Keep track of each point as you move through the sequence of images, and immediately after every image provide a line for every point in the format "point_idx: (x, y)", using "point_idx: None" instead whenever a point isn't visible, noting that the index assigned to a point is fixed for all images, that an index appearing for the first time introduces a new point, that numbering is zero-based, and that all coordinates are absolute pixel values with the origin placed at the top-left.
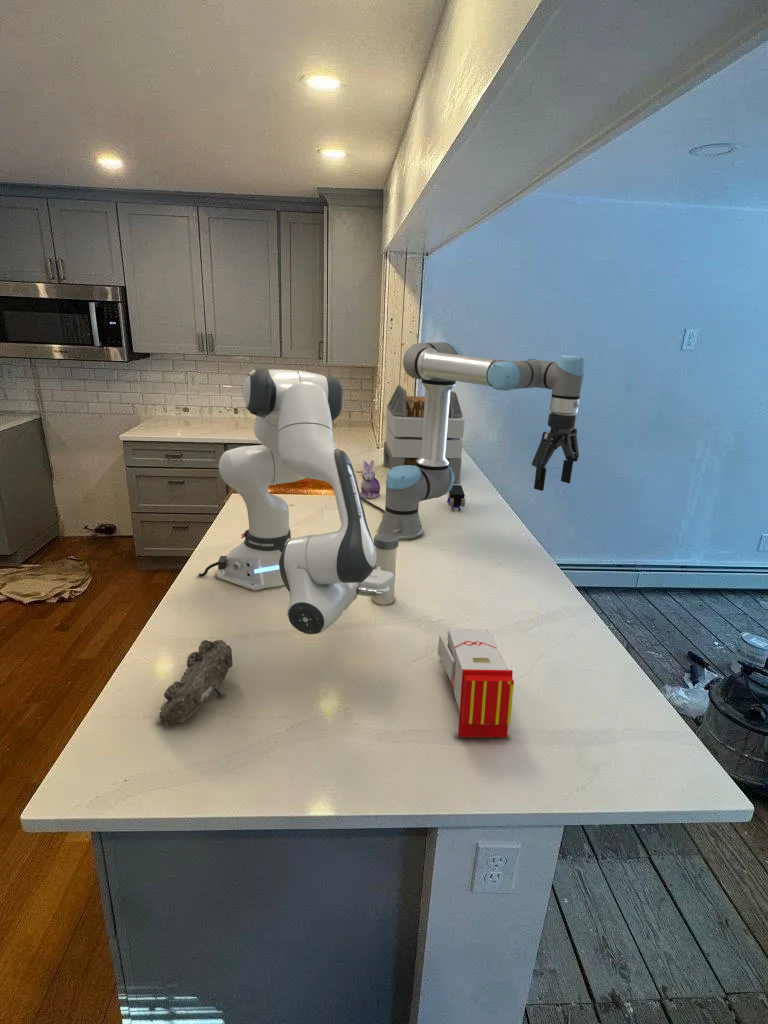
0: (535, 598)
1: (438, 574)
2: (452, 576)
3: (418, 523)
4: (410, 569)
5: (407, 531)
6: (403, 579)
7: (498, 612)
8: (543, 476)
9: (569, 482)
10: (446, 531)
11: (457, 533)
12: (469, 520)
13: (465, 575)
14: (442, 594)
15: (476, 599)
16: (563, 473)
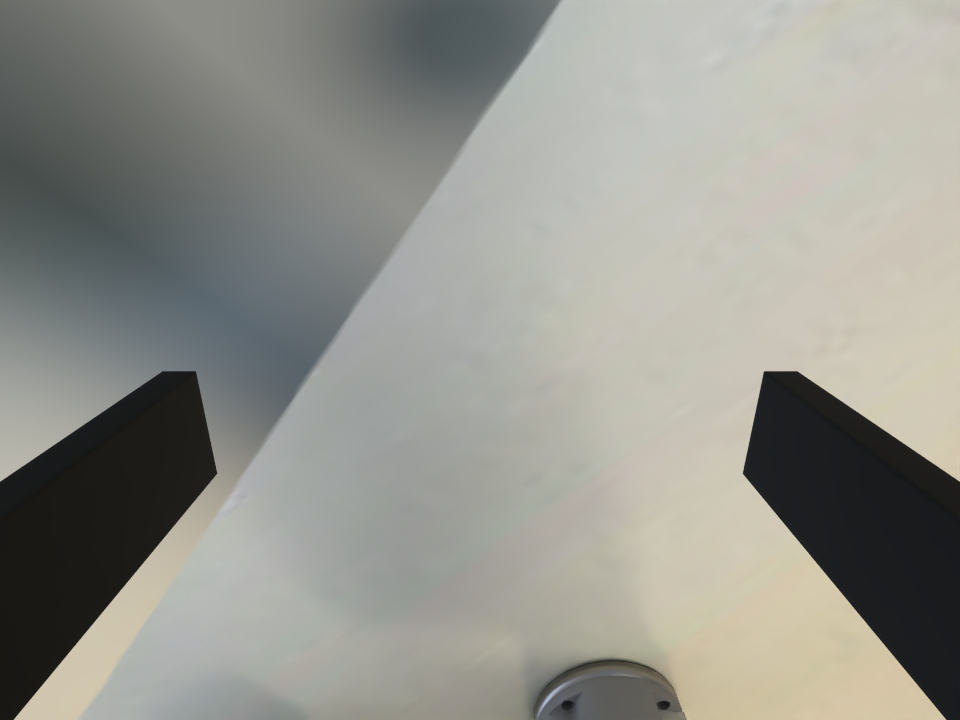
0: (708, 100)
1: None
2: None
3: (596, 715)
4: None
5: (649, 696)
6: None
7: (924, 121)
8: (954, 484)
9: (170, 374)
10: (468, 650)
11: (449, 623)
12: (315, 670)
13: (731, 393)
14: (925, 344)
15: (880, 245)
16: (153, 521)
